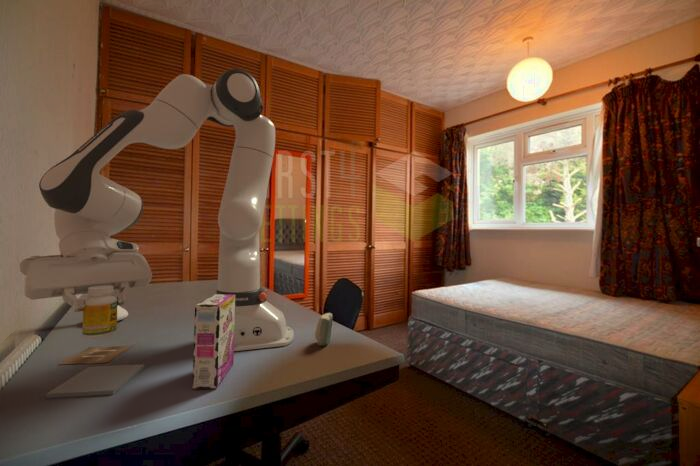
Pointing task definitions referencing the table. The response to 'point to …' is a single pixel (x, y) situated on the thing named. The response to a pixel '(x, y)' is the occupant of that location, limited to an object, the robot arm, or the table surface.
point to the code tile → (96, 355)
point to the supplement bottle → (100, 312)
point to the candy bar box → (213, 340)
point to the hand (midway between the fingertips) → (101, 306)
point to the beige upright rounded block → (324, 329)
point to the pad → (96, 381)
